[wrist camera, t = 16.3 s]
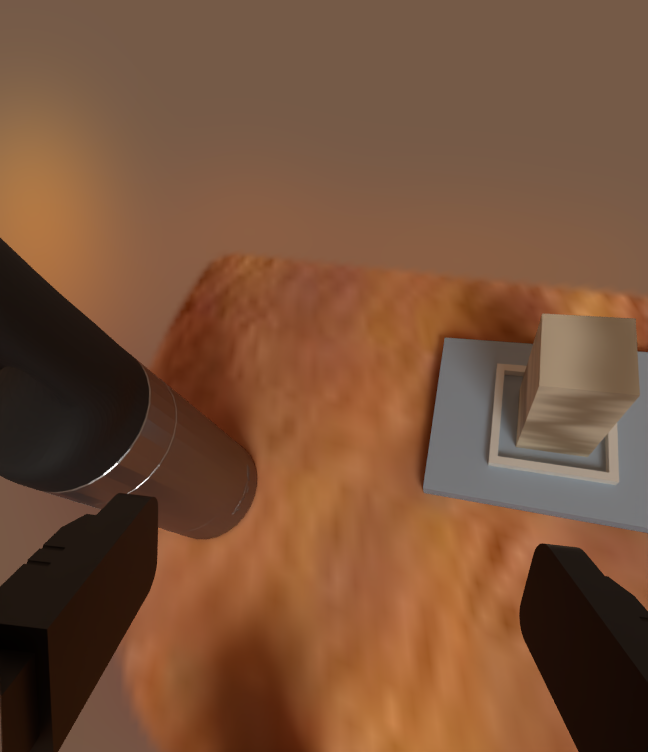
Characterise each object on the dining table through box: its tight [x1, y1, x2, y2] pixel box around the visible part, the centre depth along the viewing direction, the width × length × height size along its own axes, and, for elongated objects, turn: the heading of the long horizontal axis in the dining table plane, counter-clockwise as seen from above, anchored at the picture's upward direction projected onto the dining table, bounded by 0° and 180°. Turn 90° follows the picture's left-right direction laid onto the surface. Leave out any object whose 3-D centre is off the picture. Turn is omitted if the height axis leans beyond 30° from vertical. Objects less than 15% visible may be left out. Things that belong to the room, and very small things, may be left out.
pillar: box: [516, 314, 640, 457], centre depth 31 cm, size 5×5×11 cm
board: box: [423, 338, 648, 533], centre depth 36 cm, size 18×14×2 cm
